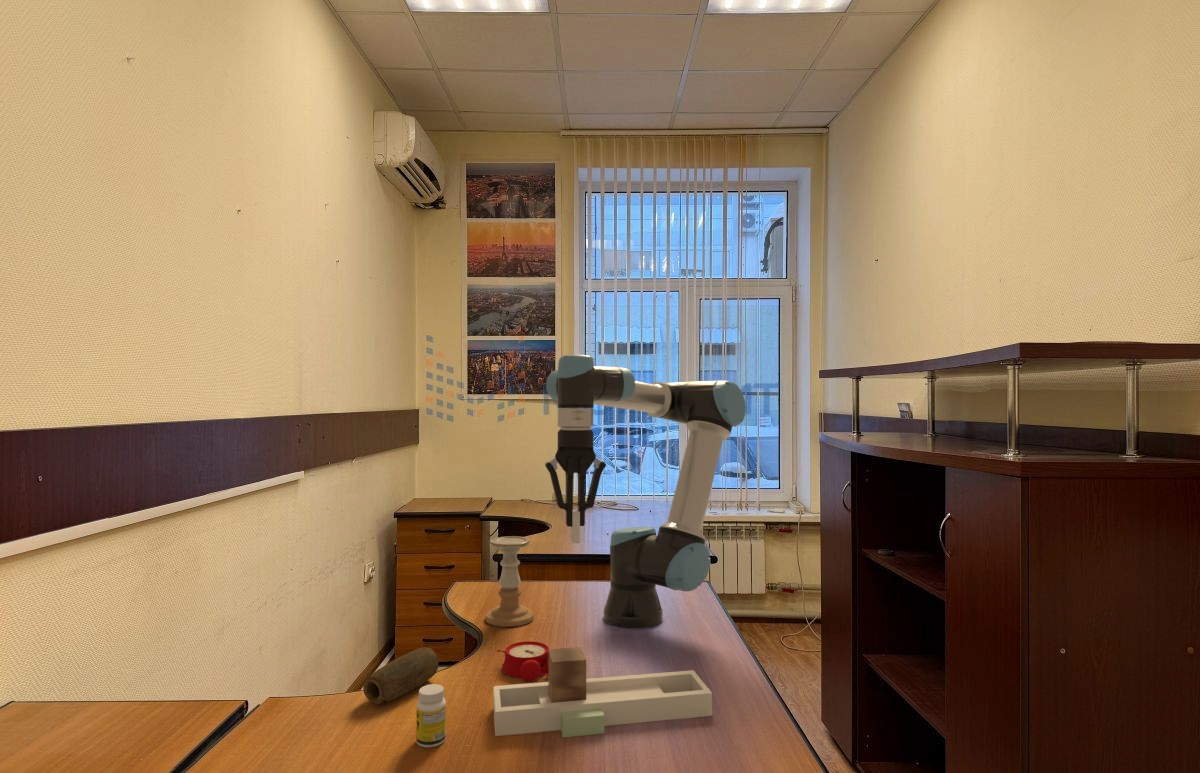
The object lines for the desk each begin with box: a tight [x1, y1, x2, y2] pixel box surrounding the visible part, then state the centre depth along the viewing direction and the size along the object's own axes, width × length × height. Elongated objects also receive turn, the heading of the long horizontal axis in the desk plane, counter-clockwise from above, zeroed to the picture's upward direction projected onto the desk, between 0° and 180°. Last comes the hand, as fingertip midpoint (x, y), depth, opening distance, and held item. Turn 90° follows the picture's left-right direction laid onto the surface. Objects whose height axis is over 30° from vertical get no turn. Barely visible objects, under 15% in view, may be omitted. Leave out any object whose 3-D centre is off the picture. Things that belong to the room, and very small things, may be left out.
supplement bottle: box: [415, 683, 447, 748], centre depth 107 cm, size 5×5×8 cm
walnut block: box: [548, 646, 587, 703], centre depth 116 cm, size 6×6×8 cm
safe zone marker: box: [560, 677, 605, 738], centre depth 116 cm, size 7×15×3 cm, turn 11°
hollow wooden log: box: [362, 646, 439, 705], centre depth 125 cm, size 15×7×7 cm, turn 156°
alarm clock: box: [496, 640, 550, 683], centre depth 135 cm, size 10×6×15 cm
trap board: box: [492, 669, 713, 737], centre depth 117 cm, size 38×10×4 cm, turn 101°
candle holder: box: [484, 535, 535, 628], centre depth 167 cm, size 12×12×20 cm
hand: (575, 541), depth 136 cm, fingers closed
